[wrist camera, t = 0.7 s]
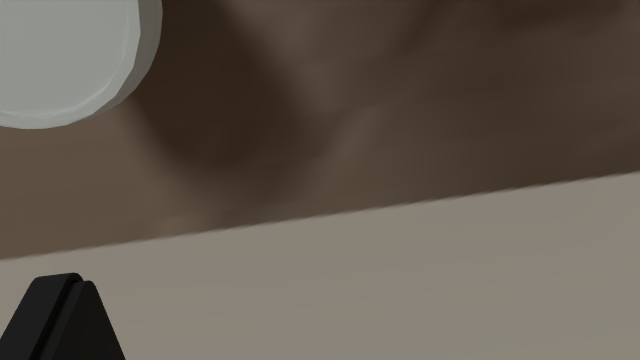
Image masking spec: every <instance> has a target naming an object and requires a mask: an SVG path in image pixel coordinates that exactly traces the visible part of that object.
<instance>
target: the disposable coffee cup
mask: <svg viewBox="0 0 640 360" xmlns="http://www.w3.org/2000/svg"><path fill="white" fill-rule="evenodd" d="M162 16H163V10H162V2H161V0H0V125H1V126H6V127H14V128H21V129H44V128H51V127H57V126H63V125H67V124H71V123H75V122H79V121H83V120H86V119H90V118H94V117H96V116H98V115H99V114H101V113H103V112H105V111H107V110H109V109H111V108H113V107H115V106H116V105H118V104H120V103H121V102H122V101H123V100H124V99H125V98H126V97H127V96H128V95H129V94H131V93H132V92H133V91H134V90H135V89H136V88H137V86H138V85H139V84H140V82H141V81H142V79H143V78H144V76H145V75H146V74H147V72H148V71H149V69H150V67H151V64H152V62H153V59H154V57H155V54H156V51H157V48H158V45H159V41H160V35H161V26H162Z"/></svg>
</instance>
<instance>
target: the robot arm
mask: <svg viewBox="0 0 640 360" xmlns="http://www.w3.org/2000/svg"><path fill="white" fill-rule="evenodd" d="M0 360H126V359H125V357H124V355H123V352H122V350H121V347H120V345H119V342H118V340H117V338H116V335H115V332H114V330H113V328H112V325H111V323H110V320H109V318H108V316H107V313H106V311H105V309H104V306H103V303H102V301H101V298H100V296H99V293H98V291H97V289H96V286H95V285H94V283H93V282H92V281H83V279H82V277H81V276H80V275H79V274H78V273H67V274H57V275H50V276H41V277H37V278H35V279H34V280H33V281H32V283H31V284H30V286H29V288H28V289H27V291H26V293H25V295H24V297H23V299H22V300H21V302H20V304H19V306H18V308H17V310H16V311H15V313H14V315H13V317H12V319H11V320H10V322H9V324H8V326H7V328H6V330H5V331H4V333H3V335H2V337H1V339H0Z"/></svg>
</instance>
